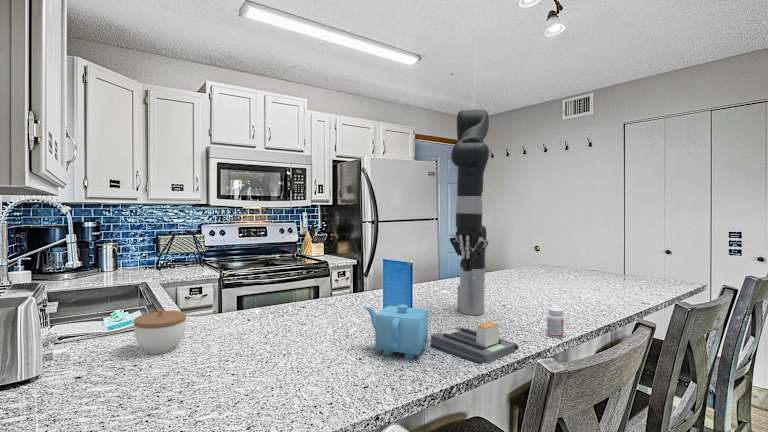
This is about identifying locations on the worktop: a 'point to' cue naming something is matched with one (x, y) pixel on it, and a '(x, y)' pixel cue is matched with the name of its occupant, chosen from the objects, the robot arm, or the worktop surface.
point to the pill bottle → (555, 323)
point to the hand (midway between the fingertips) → (467, 271)
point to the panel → (471, 344)
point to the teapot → (400, 329)
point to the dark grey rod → (505, 341)
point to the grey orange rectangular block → (487, 334)
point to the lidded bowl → (160, 330)
